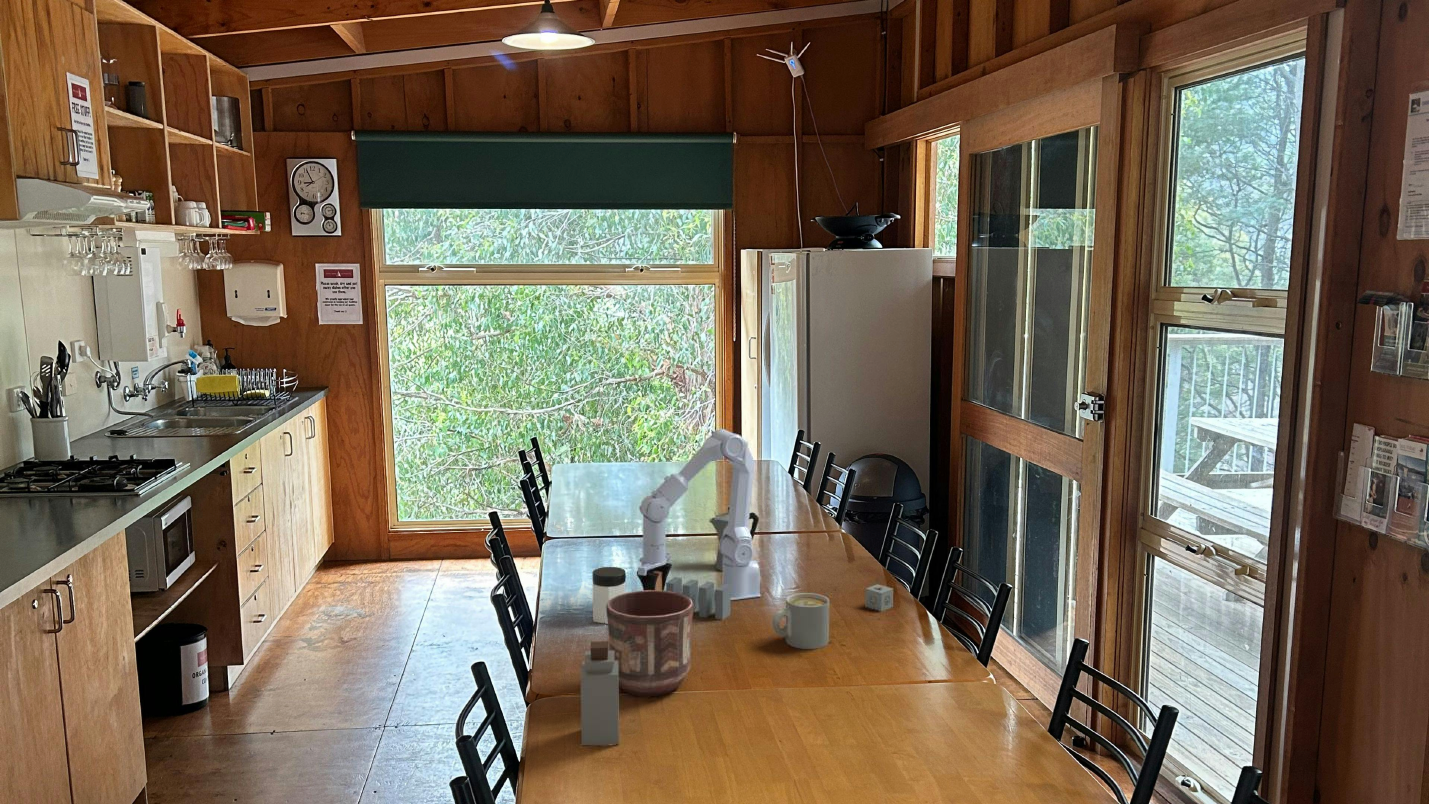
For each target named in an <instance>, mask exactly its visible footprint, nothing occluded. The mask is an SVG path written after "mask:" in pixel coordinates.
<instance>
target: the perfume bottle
mask: <svg viewBox="0 0 1429 804" xmlns="http://www.w3.org/2000/svg"><path fill="white" fill-rule="evenodd" d="M584 651H585V652H584V653H585V654H584V661H581V668H580V669H581V670H580V706H581V707H580V710H581V711H580V714H581V715H580V716H581V718H580V719H581V721H580V723H581V727H580V728H581V746H582V745H602V746H610V745H609V744H619V745H620V699H619V697H620V696H619V695H620V694H619V693H620V692H619V691H620V690H619V689H620V686H619V676H618V660H616V661H614V652H615V650H613V651H609V640H607V641H606V640H603V641H601V640H600V641H599V640H598V641H590V650H584Z"/></svg>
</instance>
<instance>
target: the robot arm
mask: <svg viewBox="0 0 1429 804" xmlns="http://www.w3.org/2000/svg"><path fill="white" fill-rule="evenodd" d="M725 459H726V460H727V462H729V464H730V465H732V477H731V487H730V488H731V489H730V498H729V499H730V500H729V507H730V508H729V510H728V513H729V519H728V525H727V526H726V528H725V529H724V532H723V537H722V538H721V540H720V542H719V541H718V547H719V550H720V552H721V553H722V554H723V572H722V579H721V580H722V582H721V583H722V584H728V585H731V593H730V601H736V600H744V599H752V598H753V599H754V598H758V597H761V596H762V595H761V593H760V587H761V586H760V584H761V583H760V582H761V581H760V577H761V575H760V567H759V564H758V562H757V561H756V560H753V558H754V555H755V552H754V551H755V550H754V549H755V548H754V547H753V540H752V537H751V534H750V529H749V523H750V522H749V521H750V519H749V513H751V512H750V511H751V500H752V491H753V480H754V479H753V478H754V470H755V468H754V467H755V460H754V457H753V455H752V452H751V450H750V448H749V442H748V441H747V440H746V439H744V437H742V436H741V435H740V434H737V433H733V432H731V431H728V430H727V429H724V428H719V429H716V430H715V431H713V432H712V434H711V435H710V436H709V437H707V438H706V439H705V440H704V442H703V444H702V445H701V447H700V448H699V449H698V450H697V451H696V453H695V454H694V455H693V456H692V457H691V458H690V459H689V461H687V463H686V464H685V466H683V467H682V469H681V470H680V471H679V472H678V473H671V474H670V475H669V476H668V475H665V477H664V478H663V479H664V481H663V482H662V483H661V484H660V485H659V487H658V488H657V489H656V490H652V492H651V493H650V495H648V496H646V497H645V498H643V500H642V501H641V503H640V505H639V512H640V513H641V515H642V522H643V523H642V557H640V558H639V560H638V561H639V562H640V564H639V566H638V567H637V571H636V576H637V578H638V579H639V581H640V584H641V586H642V591H645V590H655V587H656V582H657V578H658V576H659V573H654V571H660V572H662V591H665V589H666V583H667V579H668V576H669V574H670V572H671V569H672V568H673V566H672V563H669V562H670V561H671V552H667V549H666V542H667V541H666V532H667V531H666V528H667V527H666V519H667V518H668V516H669V514H670V510H671V508H672V507H673V506H674V504H675V503H676V502H678V500H679V499H681V497H682V496H684V494H685V493H686V492H687V491H688V490H689V482H691V481H692V479H694V477H696V476H697V475H698V474H699V473H700V472H701V471H702V470H703V469H704V468H706V466H707V465H709V464H710V463H711V462H717V461H724V460H725ZM722 584H721V585H722Z"/></svg>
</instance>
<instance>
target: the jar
mask: <svg viewBox="0 0 1429 804" xmlns="http://www.w3.org/2000/svg"><path fill="white" fill-rule="evenodd" d="M626 578H627V575H626V570H625V569H623V568H621V567H619V566H603V567H598V568H595V569H593V571H592V621H593V622H595V623H599V624H604V623H605V624H604V625H608V620H607V612H606V604H607V603H608V601H609V600H610V599H612V598H614V597H616V596H618V595H622V594H625V593H626Z"/></svg>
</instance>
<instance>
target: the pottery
mask: <svg viewBox="0 0 1429 804" xmlns="http://www.w3.org/2000/svg"><path fill="white" fill-rule="evenodd" d="M693 609H694V604H693V601H692V600H691V599H690V598H688V597H686V596H685V595H683V593H682V594H678V593H675V592H669V591H666V590H664V591H661V590H645V591H644V590H635V591H631V592H630V591H629V592H625V594H622V595H618V596H616V597H614V598H612V599H610V600H609V601H608V603H607V604H606V612H607V620H608V624H607V629H608V641H609V642H608V651H613V650H615V652H614V661H616V660H618V676H619V688H621V689H622V690H623V691H624V692H625V693H627V694H630V695H632V696H636V695H638V696H637V697H645V696H653V697H659V696H658V695H660V696H664V695H667V694H670V693H671V692H673V691H675V690H677V688H678V687H679V686H681V685H682V683H683V682H684V681H685V679H686V677H687V675H688V674H689V671H690V669H691V662H692V661H691V659H692V657H691V656H692V655H691V638H692V622H693V618H694V617H693V616H694V612H693Z"/></svg>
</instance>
